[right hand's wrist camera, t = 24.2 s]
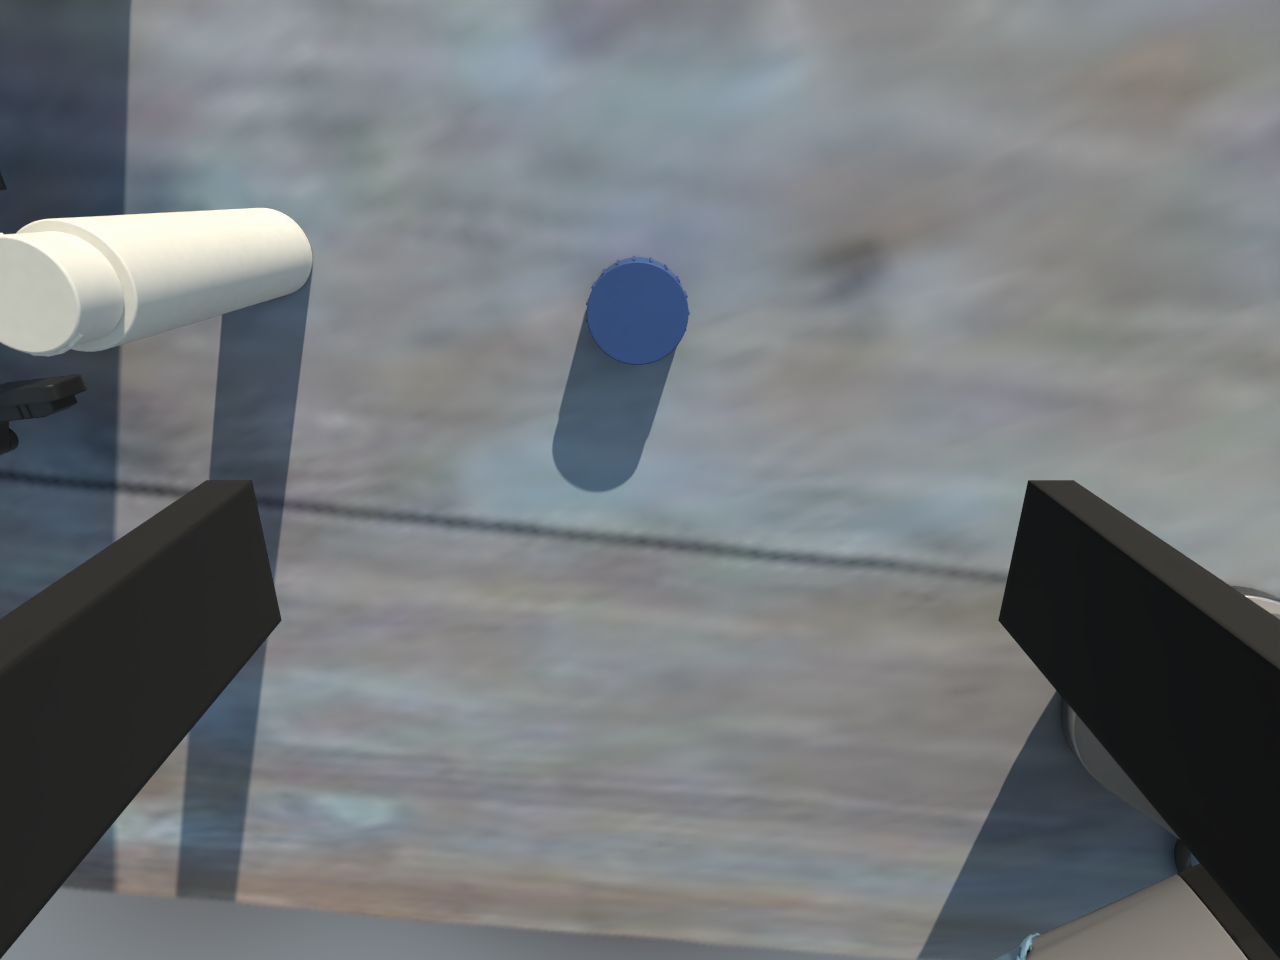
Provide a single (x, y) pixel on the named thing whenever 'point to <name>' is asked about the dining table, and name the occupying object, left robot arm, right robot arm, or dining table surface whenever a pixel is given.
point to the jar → (141, 274)
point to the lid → (637, 311)
